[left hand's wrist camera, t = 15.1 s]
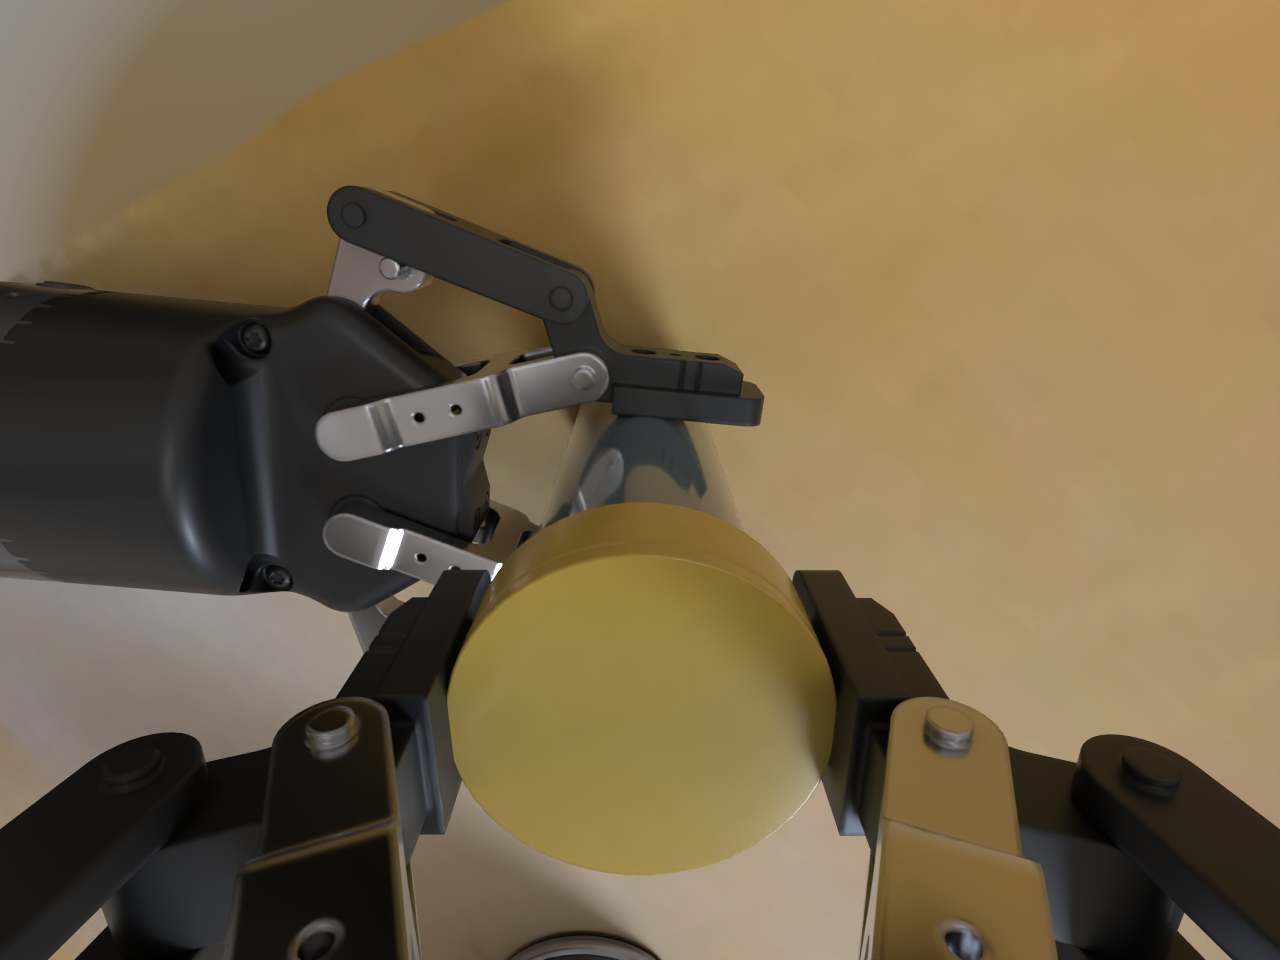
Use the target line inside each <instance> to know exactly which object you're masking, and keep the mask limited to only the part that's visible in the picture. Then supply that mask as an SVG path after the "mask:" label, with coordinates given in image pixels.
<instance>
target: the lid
mask: <svg viewBox="0 0 1280 960" xmlns="http://www.w3.org/2000/svg"><path fill="white" fill-rule="evenodd" d="M447 705H448V714H449V723H450V731H451V740H452V748H453V756H454V763H455V765H456V767H457V770H458V772H459V774H460V777H461V779H462V780H463V782H464V783H465V785H466V787H467V788H468V790H469V792H470V793H471V795H472V796H473V797H474V799H475V800H476V801H477V802H478V804H479V805H480V806H481V807H482V808H483V810H484V811H485V812H486V813H487V814H488V815H489V816H490V817H491V818H492V819H493V820H494V821H495V822H497V823H498V824H499V825H500V826H501V827H502V828H503V829H505V830H506V831H507V832H509V833H510V834H511V835H513V836H514V837H515V838H517V839H518V840H520V841H521V842H523V843H525V844H527V845H528V846H530V847H532V848H534V849H535V850H537V851H539V852H541V853H544V854H546V855H548V856H550V857H553V858H555V859H557V860H560V861H563V862H566V863H569V864H572V865H575V866H578V867H582V868H586V869H591V870H596V871H601V872H607V873H616V874H625V875H656V874H668V873H676V872H682V871H687V870H693V869H697V868H701V867H704V866H708V865H711V864H715V863H718V862H721V861H723V860H725V859H728V858H730V857H733V856H735V855H738V854H740V853H742V852H744V851H746V850H747V849H749V848H751V847H753V846H755V845H757V844H759V843H760V842H762V841H763V840H765V839H766V838H767V837H769V836H770V835H772V834H773V833H775V832H776V831H777V830H779V829H780V828H781V827H782V826H783V825H784V824H785V823H787V822H788V821H789V820H790V819H791V818H792V817H793V816H794V815H795V814H796V813H797V812H798V811H799V810H800V808H801V807H802V806H803V805H804V804H805V803H806V802H807V800H808V799H809V798H810V796H811V795H812V793H813V792H814V790H815V789H816V787H817V786H818V784H819V782H820V780H821V778H822V776H823V774H824V772H825V770H826V768H827V766H828V764H829V760H830V756H831V749H832V742H833V733H834V725H835V717H836V707H837V695H836V689H835V684H834V679H833V676H832V673H831V670H830V668H829V665H828V662H827V659H826V657H825V654H824V652H823V650H822V647H821V645H820V643H819V640H818V638H817V636H816V633H815V631H814V629H813V626H812V624H811V622H810V619H809V617H808V615H807V613H806V610H805V608H804V606H803V603H802V601H801V599H800V596H799V594H798V592H797V590H796V589H795V587H794V585H793V583H792V581H791V579H790V577H789V576H788V575H787V573H786V572H785V571H784V569H783V568H782V567H781V565H780V564H779V563H778V561H777V560H776V559H775V558H774V557H773V556H772V555H771V554H770V553H769V552H768V551H767V550H766V549H765V548H764V547H763V546H762V545H761V544H759V543H758V542H757V541H756V540H754V539H753V538H752V537H750V536H749V535H748V534H746V533H745V532H743V531H742V530H740V529H738V528H736V527H735V526H733V525H731V524H729V523H728V522H726V521H724V520H721V519H719V518H717V517H714V516H712V515H709V514H707V513H704V512H701V511H697V510H694V509H690V508H686V507H682V506H677V505H670V504H663V503H649V502H630V503H621V504H611V505H606V506H601V507H597V508H593V509H588V510H585V511H582V512H579V513H577V514H574V515H571V516H568V517H566V518H563V519H561V520H559V521H557V522H556V523H554V524H552V525H550V526H548V527H546V528H544V529H543V530H541V531H540V532H538V533H537V534H535V535H534V536H533V537H531V538H530V539H528V540H527V541H525V542H524V543H523V544H522V545H521V546H520V547H519V548H518V549H517V550H516V551H515V552H514V553H513V554H511V555H510V556H509V558H508V559H507V560H506V561H505V563H504V564H503V565H502V566H501V568H500V569H499V570H498V571H497V573H496V574H495V576H494V578H493V579H492V581H491V583H490V584H489V586H488V588H487V589H486V592H485V594H484V596H483V599H482V601H481V603H480V606H479V608H478V610H477V613H476V615H475V617H474V620H473V622H472V624H471V627H470V629H469V631H468V634H467V636H466V638H465V641H464V643H463V645H462V648H461V650H460V652H459V655H458V657H457V660H456V662H455V665H454V667H453V670H452V672H451V676H450V680H449V684H448V689H447Z"/></svg>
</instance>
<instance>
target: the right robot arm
mask: <svg viewBox="0 0 1280 960" xmlns="http://www.w3.org/2000/svg"><path fill="white" fill-rule="evenodd" d="M327 217H328V221H329V223H330V226H331V228H332V229H333V231H334V232H335V233H336V234H337V235H338V236H339V237H340V240H339V245H338V249H337V253H336V258H335V262H334V266H333V271H332V275H331V279H330V284H329V288H328V292H327V296H321V297H316V298H313V299H310V300H308V301H306V302H304V303H302V304H300V305H298V306H296V307H294V308H279V307H268V306H258V305H247V304H236V303H226V302H215V301H204V300H194V299H183V298H173V297H162V296H151V295H141V294H129V293H119V292H109V291H98V290H95V289H94V288H91V287H87V286H82V285H76V284H70V283H62V282H51V281H44V283H36V285H35V284H25V283H14V282H0V577H4V578H17V579H29V580H42V581H54V582H67V583H79V584H92V585H104V586H116V587H128V588H141V589H153V590H165V591H177V592H189V593H202V594H214V595H228V596H235V595H248V594H258V593H267V592H278V591H290V592H295V593H298V594H302V595H304V596H307V597H310V598H312V599H314V600H316V601H318V602H320V603H321V604H323V605H325V606H327V607H329V608H331V609H334V610H337V611H341V612H348V614H349V617H350V619H351V622H352V625H353V627H354V630H355V632H356V635H357V637H358V640H359V643H360V645H361V648H362V650H363V653H365V652H366V651H368V650H369V646H370V644H371V643H372V641H373V640H374V638H375V636H376V635H378V634H379V630H380V629H381V627H382V626H383V624H384V622H385V621H386V619H387V618H388V616H389V615H390V613H392V612H393V611H394V610H396V609H397V608H399V607H400V606H401V605H403V604H404V602H402V601H400V600H398V599H397V598H395V597H394V596H393V595H395V594H396V593H398V592H400V591H402V590H403V589H405V588H407V587H409V586H411V585H412V584H414V583H416V582H418V581H419V580H423V581H426V582H428V583H431V584H434V585H436V583H437V581H438V579H439V578H440V576H441V574H442V572H443V571H444V570H488V572H489V574H490V578H491V581H492V579H493V578H494V576H495V574H496V573H497V571H498V570H499V569H500V568H501V566H502V565H503V564H504V563H505V561H506V560H507V559H508V558H509V556H510V555H511V554H513V553H514V552H515V551H516V550H517V549H518V548H519V547H520V546H521V545H522V544H523V543H524V542H525V541H527V540H528V539H530V538H531V537H533V536H534V535H535V534H537V532H538V529H539V526H537V525H535V524H533V523H532V522H530V521H529V519H528V517H527V516H526V515H525V514H523V513H522V512H520V511H518V510H516V509H513V508H510V507H508V506H505V505H503V504H500V503H497V502H495V501H492V500H489V497H490V485H489V481H488V477H487V473H486V470H485V466H484V462H483V456H484V453H485V449H486V446H487V443H488V440H489V436H490V433H491V428H495V427H499V426H503V425H506V424H509V423H512V422H514V421H516V420H517V419H520V418H522V417H525V416H529V415H534V414H539V413H543V412H548V411H553V410H557V409H562V408H567V407H571V406H576V405H581V404H585V403H590V402H593V401H595V402H606V403H612V413H611V414H614V415H625V416H636V417H652V418H659V419H669V420H681V421H692V422H703V423H714V424H725V425H736V426H757V425H759V424H760V421H761V415H762V409H763V402H764V395H763V394H762V392H761V391H760V390H759V388H758V387H757V386H756V385H755V384H753V383H750V382H746V381H743V373H742V372H741V370H740V369H739V367H738V366H737V365H736V364H735V363H734V362H732V361H730V360H728V359H726V358H724V357H722V356H720V355H718V354H709V353H695V352H687V351H676V350H666V349H655V348H644V347H633V346H626V345H622V344H619V343H617V342H616V341H614V340H613V339H612V338H611V337H609V336H608V334H607V333H606V332H605V330H604V328H603V325H602V322H601V319H600V315H599V312H598V308H597V304H596V301H595V297H594V291H595V289H594V283H593V280H592V278H591V276H590V275H589V274H588V273H587V272H586V271H585V270H584V269H582V268H580V267H578V266H576V265H573V264H571V263H568V262H566V261H563V260H561V259H559V258H556V257H554V256H551V255H549V254H546V253H544V252H541V251H539V250H536V249H534V248H532V247H529V246H527V245H524V244H522V243H519V242H517V241H514V240H512V239H509V238H507V237H505V236H502V235H500V234H497V233H495V232H492V231H490V230H487V229H485V228H482V227H480V226H478V225H475V224H473V223H470V222H468V221H465V220H463V219H460V218H458V217H455V216H453V215H451V214H448V213H446V212H443V211H441V210H438V209H436V208H433V207H431V206H428V205H426V204H424V203H421V202H419V201H416V200H414V199H411V198H409V197H406V196H404V195H401V194H399V193H396V192H391V191H385V190H380V189H374V188H367V187H358V186H345V187H342V188H340V189H338V190H337V191H335V192H334V193H333V194H332V196H331V197H330V199H329V202H328V206H327ZM435 277H436V278H439V279H442V280H444V281H447V282H449V283H452V284H454V285H457V286H459V287H462V288H464V289H467V290H469V291H472V292H475V293H477V294H480V295H482V296H485V297H487V298H490V299H492V300H495V301H497V302H500V303H502V304H505V305H507V306H510V307H513V308H515V309H518V310H520V311H523V312H525V313H528V314H530V315H533V316H535V317H538V318H540V319H543V322H544V325H545V328H546V332H547V335H548V338H549V341H550V345H551V346H546V347H542V348H537V349H533V350H528V351H513V352H508V353H504V354H499V355H495V356H490V357H485V358H481V359H476V360H472V361H467V362H463V363H458V364H454V365H453V364H452V363H451V362H449V361H448V360H447V359H446V358H444V357H443V356H442V355H441V354H439V353H438V352H437V351H436V350H434V349H433V348H432V347H431V346H430V345H428V344H427V343H426V342H425V341H423V340H422V339H421V338H420V337H418V336H417V335H416V334H415V333H413V332H412V331H411V330H410V329H409V328H407V327H406V326H405V325H404V324H402V323H401V322H400V321H399V320H397V319H396V318H395V317H394V316H392V315H391V314H390V313H389V312H387V311H386V310H385V309H384V308H383V307H381V306H380V305H379V304H378V303H379V300H380V299H381V297H382V296H383V295H384V294H385V293H386V292H387V291H393V292H397V293H409V292H413V291H417V290H420V289H423V288H425V287H427V286H428V285H430V284H431V283H432V281H433V280H434V278H435ZM473 541H475V542H477V543H479V544H473V543H472V542H473ZM510 960H656V959H655V958H653V957H652V956H651V955H649V954H648V953H646V952H644V951H643V950H641V949H639V948H637V947H635V946H632V945H630V944H627V943H624V942H621V941H618V940H614V939H610V938H604V937H596V936H568V937H560V938H555V939H551V940H547V941H543V942H541V943H538V944H535V945H533V946H531V947H528V948H526V949H525V950H523V951H521V952H520V953H518V954H517V955H515V956H514V957H513V958H511V959H510Z"/></svg>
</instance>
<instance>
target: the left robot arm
mask: <svg viewBox="0 0 1280 960" xmlns="http://www.w3.org/2000/svg"><path fill="white" fill-rule="evenodd" d="M490 583H491V578H490V574H489V572H488V570H444V571H443V572H442V574H441V576H440V578H439V579H438V581H437V583H436V585H435V586H434V588H433V590H432V592H431V593H430V595H429V597H413V598H411V599H410V600H408V601H407V602H406V603H404V604H403V605H401V606H400V607H399V608H397V609H396V610H394V611H393V612H392V613H390V615H389V616H388V618H387V619H386V621H385V622H384V624H383V626H382V627H381V629H380V630H379V634H378V635H376V636H375V638H374V640H373V641H372V643H371V644H370V646H369V650H368V651H366V652H365V653H364V655H363V657H362V658H361V660H360V661H359V663H358V664H357V666H356V667H355V669H354V670H353V672H352V674H351V675H350V677H349V678H348V680H347V681H346V683H345V684H344V686H343V687H342V689H341V691H340V692H339V694H338V695H337V697H336V698H335V699H331V700H328V701H324V702H321V703H318V704H316V705H313V706H311V707H309V708H307V709H305V710H303V711H301V712H300V713H298V714H296V715H295V716H294V717H292V718H291V719H290V720H288V721H287V722H286V723H285V724H284V725H283V726H282V727H281V729H280V730H279V731H278V732H277V734H276V736H275V738H274V740H273V744H272V747H270V748H267V749H263V750H259V751H255V752H251V753H246V754H242V755H237V756H232V757H228V758H223V759H219V760H214V761H210V762H206V761H205V758H204V754H203V750H202V747H201V745H200V743H199V741H198V740H197V739H196V738H194V737H192V736H190V735H187V734H183V733H175V732H169V733H158V734H152V735H147V736H143V737H139V738H136V739H133V740H130V741H127V742H125V743H122V744H120V745H118V746H116V747H113V748H111V749H109V750H107V751H105V752H104V753H102V754H100V755H99V756H97V757H95V758H94V759H92V760H91V761H90V762H88V763H87V764H85V765H84V766H83V767H81V768H80V769H79V770H77V771H76V772H75V773H73V774H72V775H71V776H70V777H68V778H67V779H66V780H64V781H63V782H62V783H60V784H59V785H58V786H56V787H55V788H54V789H52V790H51V791H50V792H48V793H47V794H46V795H45V796H43V797H42V798H41V799H39V800H38V801H37V802H35V803H34V804H33V805H31V806H30V807H29V808H27V809H26V810H25V811H24V812H22V813H21V814H20V815H18V816H17V817H16V818H14V819H13V820H12V821H10V822H9V823H8V824H6V825H5V826H4V827H3V828H1V829H0V960H48V959H49V958H50V957H51V956H52V955H53V954H54V953H55V952H56V951H57V950H58V949H59V948H60V947H61V946H62V945H63V944H64V943H65V942H66V941H67V940H68V939H69V938H70V937H71V936H72V935H73V934H74V933H75V932H76V931H77V930H78V929H79V928H80V927H81V926H82V925H83V924H84V923H85V922H86V921H87V920H88V919H89V918H90V917H91V916H92V915H94V914H95V913H96V912H97V911H98V910H99V909H100V908H101V907H102V910H103V913H104V915H105V918H106V921H107V923H108V926H107V927H106V928H105V929H104V930H103V931H102V932H101V933H100V934H99V935H98V936H97V937H96V938H95V939H94V940H93V941H92V942H91V943H90V944H89V946H88V947H87V948H86V949H85V950H84V951H83V952H82V953H81V954H80V955H79V956H78V957H77V958H76V959H75V960H422V951H421V942H420V933H419V924H418V915H417V906H416V897H415V888H414V879H413V871H412V864H411V856H412V853H413V851H414V848H415V845H416V842H417V840H418V837H419V834H445V832H446V828H447V825H448V822H449V819H450V816H451V813H452V810H453V807H454V804H455V800H456V797H457V794H458V791H459V788H460V785H461V782H462V779H461V777H460V774H459V772H458V770H457V767H456V765H455V763H454V756H453V748H452V740H451V731H450V723H449V714H448V705H447V689H448V684H449V680H450V676H451V672H452V670H453V667H454V665H455V662H456V660H457V657H458V655H459V652H460V650H461V648H462V645H463V643H464V641H465V638H466V636H467V634H468V631H469V629H470V627H471V624H472V622H473V620H474V617H475V615H476V613H477V610H478V608H479V606H480V603H481V601H482V599H483V596H484V594H485V592H486V589H487V588H488V586H489V584H490ZM792 583H793V585H794V587H795V589H796V590H797V592H798V594H799V596H800V599H801V601H802V603H803V606H804V608H805V610H806V613H807V615H808V617H809V619H810V622H811V624H812V626H813V629H814V631H815V633H816V636H817V638H818V640H819V643H820V645H821V647H822V650H823V652H824V654H825V657H826V659H827V662H828V665H829V668H830V670H831V673H832V676H833V679H834V684H835V689H836V695H837V707H836V717H835V725H834V733H833V742H832V749H831V756H830V760H829V764H828V766H827V768H826V770H825V772H824V774H823V776H822V778H821V779H822V782H823V785H824V788H825V791H826V794H827V798H828V801H829V804H830V807H831V810H832V813H833V816H834V819H835V822H836V825H837V828H838V831H839V834H840V836H866V838H867V841H868V844H869V847H870V849H871V851H870V858H869V864H868V871H867V879H866V888H865V897H864V906H863V915H862V924H861V933H860V942H859V951H858V960H1205V959H1204V958H1203V957H1202V956H1201V955H1200V954H1199V953H1198V952H1197V951H1196V950H1195V949H1194V948H1193V947H1192V945H1191V944H1190V943H1189V942H1188V941H1187V940H1186V939H1185V938H1184V937H1183V936H1182V935H1181V934H1180V933H1179V932H1178V931H1177V930H1178V928H1179V925H1180V923H1181V920H1182V917H1183V915H1184V913H1185V914H1187V915H1188V916H1189V917H1190V918H1191V919H1192V920H1193V921H1194V922H1195V923H1196V924H1197V925H1198V926H1199V927H1200V928H1201V929H1202V930H1203V931H1204V932H1205V933H1206V934H1207V935H1208V936H1209V937H1210V938H1211V939H1212V940H1213V941H1214V942H1215V943H1216V944H1217V945H1218V946H1219V947H1220V948H1221V949H1222V950H1223V951H1224V952H1225V953H1226V954H1227V955H1228V956H1229V957H1230V958H1231V959H1232V960H1280V829H1279V828H1278V827H1276V826H1275V825H1274V824H1272V823H1271V822H1270V821H1268V820H1267V819H1266V818H1264V817H1263V816H1262V815H1260V814H1259V813H1258V812H1256V811H1255V810H1254V809H1253V808H1251V807H1250V806H1249V805H1247V804H1246V803H1245V802H1243V801H1242V800H1241V799H1239V798H1238V797H1237V796H1235V795H1234V794H1233V793H1232V792H1230V791H1229V790H1228V789H1226V788H1225V787H1224V786H1222V785H1221V784H1220V783H1218V782H1217V781H1216V780H1214V779H1213V778H1212V777H1211V776H1209V775H1208V774H1207V773H1205V772H1204V771H1203V770H1201V769H1200V768H1199V767H1197V766H1196V765H1195V764H1193V763H1192V762H1190V761H1189V760H1187V759H1186V758H1184V757H1182V756H1181V755H1179V754H1177V753H1175V752H1173V751H1171V750H1169V749H1167V748H1165V747H1163V746H1160V745H1158V744H1155V743H1152V742H1149V741H1146V740H1143V739H1139V738H1135V737H1131V736H1124V735H1112V734H1108V735H1099V736H1095V737H1092V738H1090V739H1089V740H1087V741H1086V742H1085V743H1084V744H1083V746H1082V748H1081V751H1080V754H1079V758H1078V761H1077V763H1074V762H1070V761H1065V760H1061V759H1056V758H1052V757H1047V756H1042V755H1038V754H1033V753H1029V752H1025V751H1021V750H1018V749H1015V748H1012V747H1009V746H1008V744H1007V740H1006V738H1005V736H1004V734H1003V732H1002V731H1001V730H1000V729H999V727H998V726H997V725H996V724H995V723H994V722H993V721H992V720H990V719H989V718H988V717H986V716H985V715H984V714H982V713H980V712H979V711H977V710H975V709H973V708H971V707H969V706H967V705H964V704H962V703H959V702H956V701H952V700H950V699H949V698H948V696H947V695H946V693H945V692H944V690H943V689H942V687H941V686H940V684H939V683H938V681H937V680H936V678H935V677H934V675H933V673H932V672H931V670H930V669H929V667H928V666H927V664H926V663H925V661H924V660H923V658H922V657H921V655H920V654H919V652H916V648H915V646H914V644H913V643H912V641H911V640H910V638H909V637H908V636H906V632H905V631H904V629H903V628H902V626H901V625H900V623H899V622H898V620H897V619H896V617H895V615H894V614H893V613H891V612H890V611H889V610H887V609H886V608H884V607H883V606H882V605H880V604H879V603H877V602H876V601H874V600H873V599H872V598H856V597H855V596H854V594H853V592H852V591H851V589H850V587H849V585H848V584H847V582H846V580H845V579H844V577H843V575H842V573H841V572H840V571H838V570H797V571H796V572H795V573H794V577H793V582H792Z"/></svg>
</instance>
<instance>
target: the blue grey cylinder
mask: <svg viewBox="0 0 1280 960" xmlns="http://www.w3.org/2000/svg"><path fill="white" fill-rule="evenodd" d="M611 413H612V403H606V402H595V401H593V402H590V403H585V404H581V405H580V408H579V411H578V414H577V417H576V420H575V423H574V426H573V429H572V432H571V435H570V438H569V441H568V444H567V447H566V450H565V453H564V456H563V459H562V461H561V464H560V467H559V470H558V473H557V476H556V479H555V482H554V485H553V488H552V491H551V494H550V497H549V500H548V503H547V506H546V509H545V512H544V515H543V518H542V520H541V523H540V526H539V529H538V532H540V531H541V530H543V529H544V528H546V527H548V526H550V525H552V524H554V523H556V522H557V521H559V520H561V519H563V518H566V517H568V516H571V515H574V514H577V513H579V512H582V511H585V510H588V509H593V508H597V507H601V506H606V505H611V504H621V503H630V502H649V503H663V504H670V505H677V506H682V507H686V508H690V509H694V510H697V511H701V512H704V513H707V514H709V515H712V516H714V517H717V518H719V519H721V520H724V521H726V522H728V523H729V524H731V525H733V526H735V527H736V528H738V529H740V530H742V531H743V532H744V530H743V527H742V524H741V521H740V518H739V515H738V512H737V509H736V506H735V503H734V501H733V498H732V495H731V492H730V489H729V486H728V483H727V480H726V477H725V474H724V471H723V468H722V466H721V463H720V460H719V457H718V454H717V451H716V448H715V445H714V442H713V439H712V436H711V434H710V431H709V428H708V425H707V423H703V422H692V421H681V420H669V419H659V418H652V417H636V416H625V415H614V414H611ZM538 532H537V533H538Z"/></svg>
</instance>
